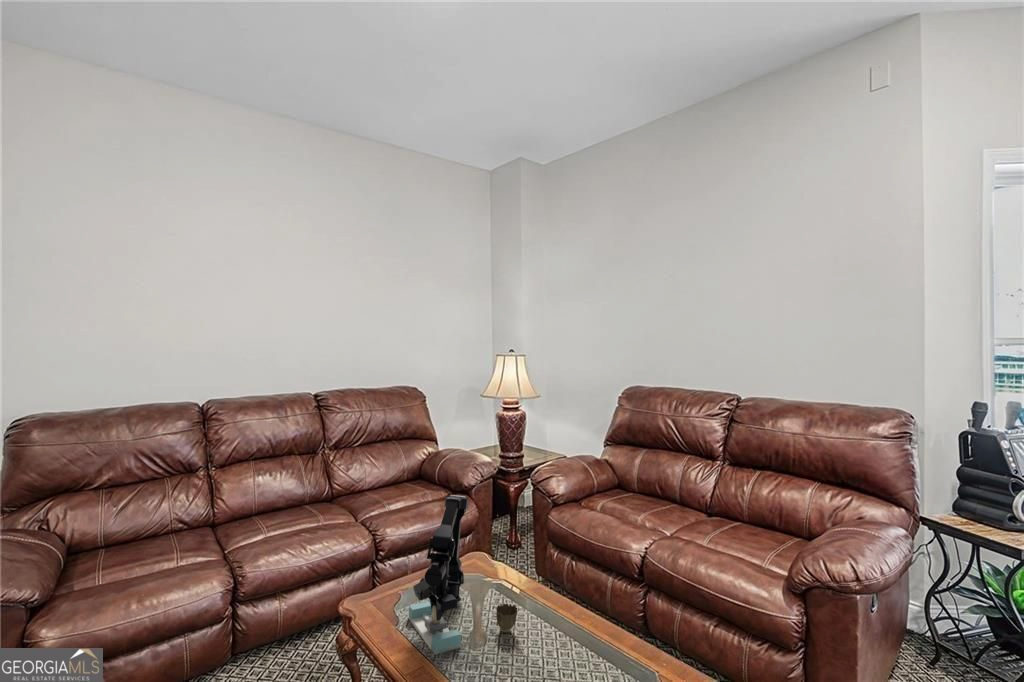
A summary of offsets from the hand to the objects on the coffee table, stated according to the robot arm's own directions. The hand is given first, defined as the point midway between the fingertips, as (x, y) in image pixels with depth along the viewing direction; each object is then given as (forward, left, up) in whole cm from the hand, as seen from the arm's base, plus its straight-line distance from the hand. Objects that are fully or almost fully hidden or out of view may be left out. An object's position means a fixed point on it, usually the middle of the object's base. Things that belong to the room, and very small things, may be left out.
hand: (436, 617), depth 177 cm
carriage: (0, 0, -4) cm, 4 cm away
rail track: (0, -1, -6) cm, 6 cm away
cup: (-23, +8, -6) cm, 25 cm away
